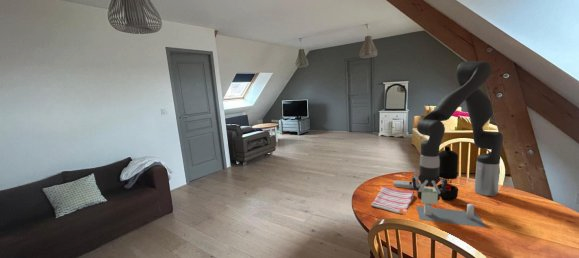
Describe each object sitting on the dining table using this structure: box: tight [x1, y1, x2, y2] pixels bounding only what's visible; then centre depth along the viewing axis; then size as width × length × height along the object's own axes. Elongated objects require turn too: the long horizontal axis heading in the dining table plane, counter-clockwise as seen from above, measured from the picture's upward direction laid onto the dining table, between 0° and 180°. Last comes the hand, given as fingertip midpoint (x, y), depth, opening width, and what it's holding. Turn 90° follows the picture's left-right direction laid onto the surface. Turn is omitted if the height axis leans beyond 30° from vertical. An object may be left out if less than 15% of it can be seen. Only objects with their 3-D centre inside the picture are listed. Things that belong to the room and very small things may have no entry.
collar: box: [420, 186, 439, 205], centre depth 106 cm, size 6×6×5 cm
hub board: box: [415, 203, 488, 228], centre depth 105 cm, size 24×12×8 cm, turn 69°
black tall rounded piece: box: [436, 146, 459, 201], centre depth 118 cm, size 14×9×30 cm
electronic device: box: [392, 171, 421, 190], centre depth 139 cm, size 5×10×15 cm
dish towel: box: [370, 185, 415, 216], centre depth 124 cm, size 17×23×4 cm
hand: (428, 199), depth 107 cm, fingers closed on collar, 6 cm apart
